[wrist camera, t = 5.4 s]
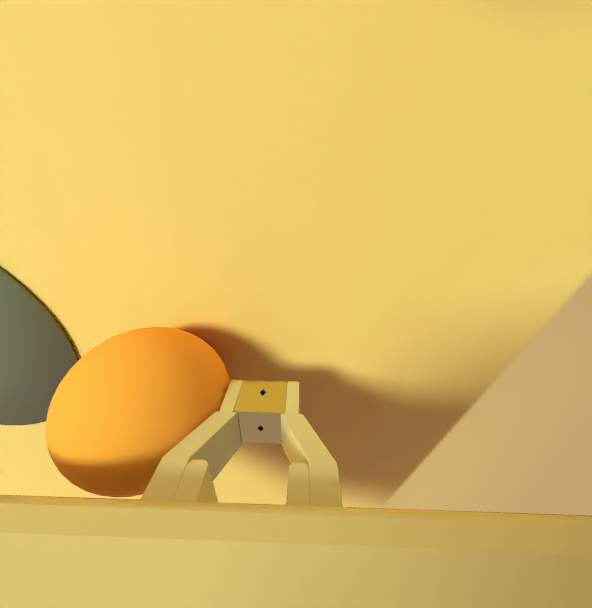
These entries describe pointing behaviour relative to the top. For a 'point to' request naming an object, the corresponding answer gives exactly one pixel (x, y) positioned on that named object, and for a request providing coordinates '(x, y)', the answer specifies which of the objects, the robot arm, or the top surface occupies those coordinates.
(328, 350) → the top surface
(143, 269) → the top surface
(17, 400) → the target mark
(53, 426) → the ball
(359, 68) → the top surface
